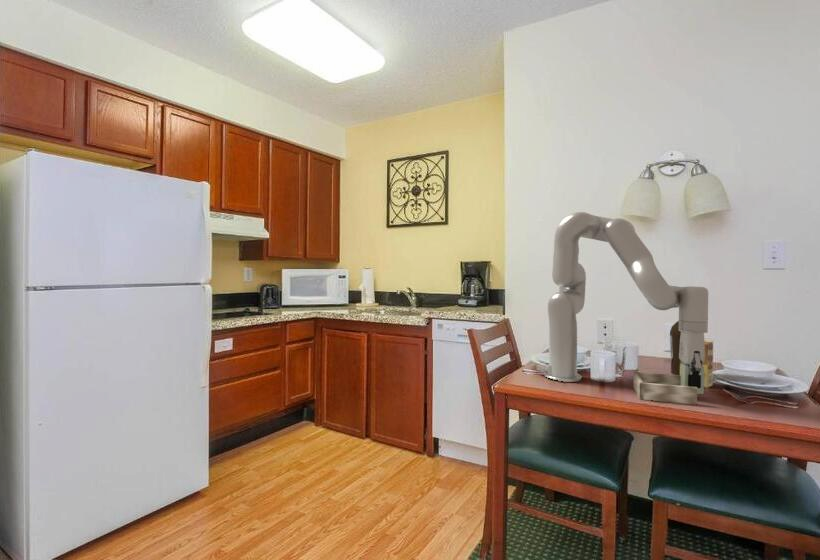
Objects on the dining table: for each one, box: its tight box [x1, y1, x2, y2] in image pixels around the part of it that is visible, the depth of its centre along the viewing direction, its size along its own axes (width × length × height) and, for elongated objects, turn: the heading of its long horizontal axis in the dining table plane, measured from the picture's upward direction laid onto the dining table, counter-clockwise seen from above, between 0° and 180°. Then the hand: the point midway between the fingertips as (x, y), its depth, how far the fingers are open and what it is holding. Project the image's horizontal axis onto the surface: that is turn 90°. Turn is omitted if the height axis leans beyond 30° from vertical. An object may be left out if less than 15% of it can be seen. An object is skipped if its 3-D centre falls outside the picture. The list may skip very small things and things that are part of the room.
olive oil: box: [669, 320, 681, 375], centre depth 161 cm, size 11×11×25 cm
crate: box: [632, 371, 698, 406], centre depth 136 cm, size 15×15×5 cm
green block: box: [681, 363, 705, 395], centre depth 133 cm, size 5×5×8 cm
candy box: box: [680, 339, 714, 388], centre depth 148 cm, size 9×4×15 cm, turn 33°
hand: (691, 384), depth 133 cm, fingers closed on green block, 5 cm apart
